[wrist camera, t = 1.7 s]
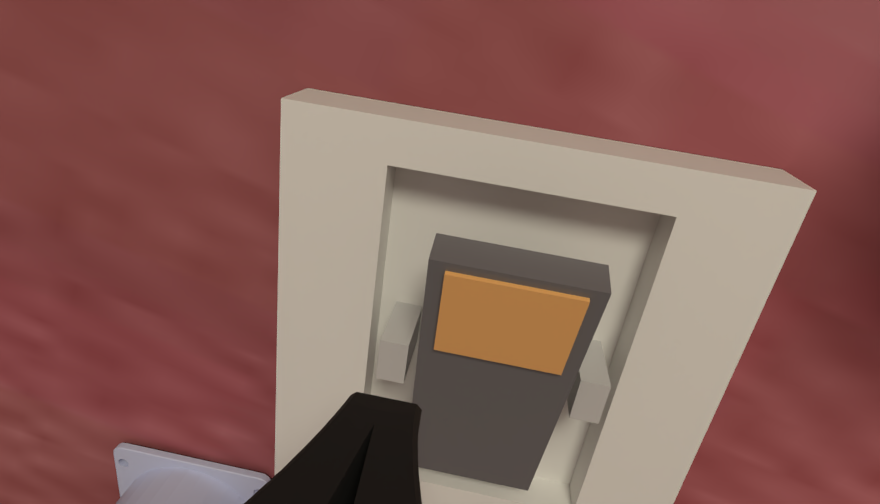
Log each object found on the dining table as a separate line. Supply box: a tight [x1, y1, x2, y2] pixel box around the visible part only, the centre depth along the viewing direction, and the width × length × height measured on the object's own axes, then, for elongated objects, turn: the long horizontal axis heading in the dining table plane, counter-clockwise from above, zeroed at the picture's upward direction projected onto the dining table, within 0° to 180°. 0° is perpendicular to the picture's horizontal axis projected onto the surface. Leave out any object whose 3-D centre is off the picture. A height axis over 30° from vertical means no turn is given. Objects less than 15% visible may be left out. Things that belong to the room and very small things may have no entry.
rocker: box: [412, 233, 612, 491], centre depth 19 cm, size 11×5×1 cm, turn 171°
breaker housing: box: [275, 88, 816, 504], centre depth 20 cm, size 16×16×4 cm
